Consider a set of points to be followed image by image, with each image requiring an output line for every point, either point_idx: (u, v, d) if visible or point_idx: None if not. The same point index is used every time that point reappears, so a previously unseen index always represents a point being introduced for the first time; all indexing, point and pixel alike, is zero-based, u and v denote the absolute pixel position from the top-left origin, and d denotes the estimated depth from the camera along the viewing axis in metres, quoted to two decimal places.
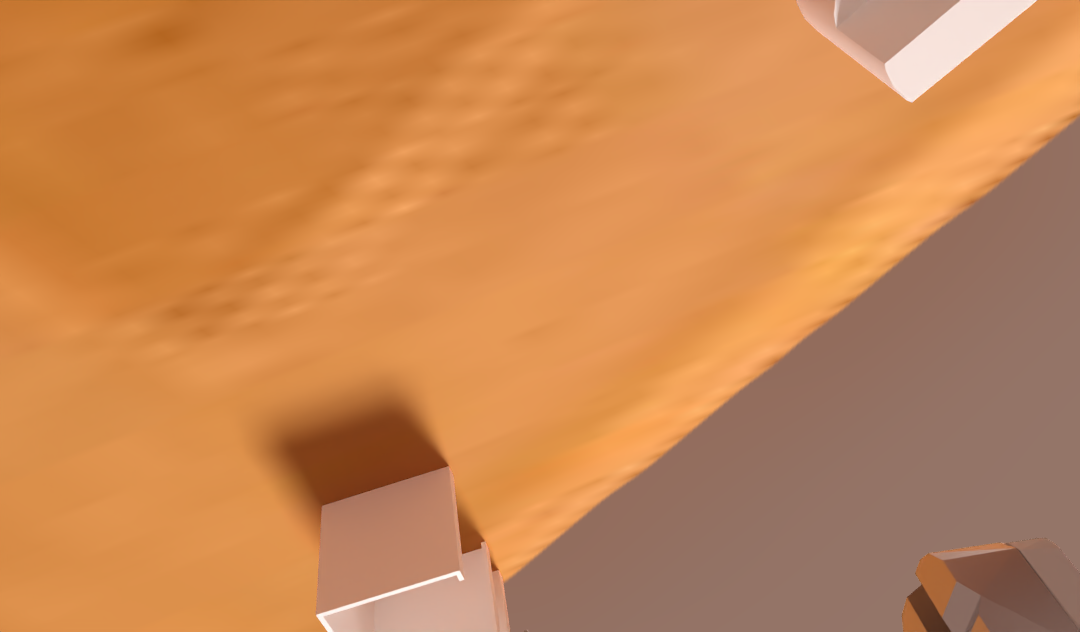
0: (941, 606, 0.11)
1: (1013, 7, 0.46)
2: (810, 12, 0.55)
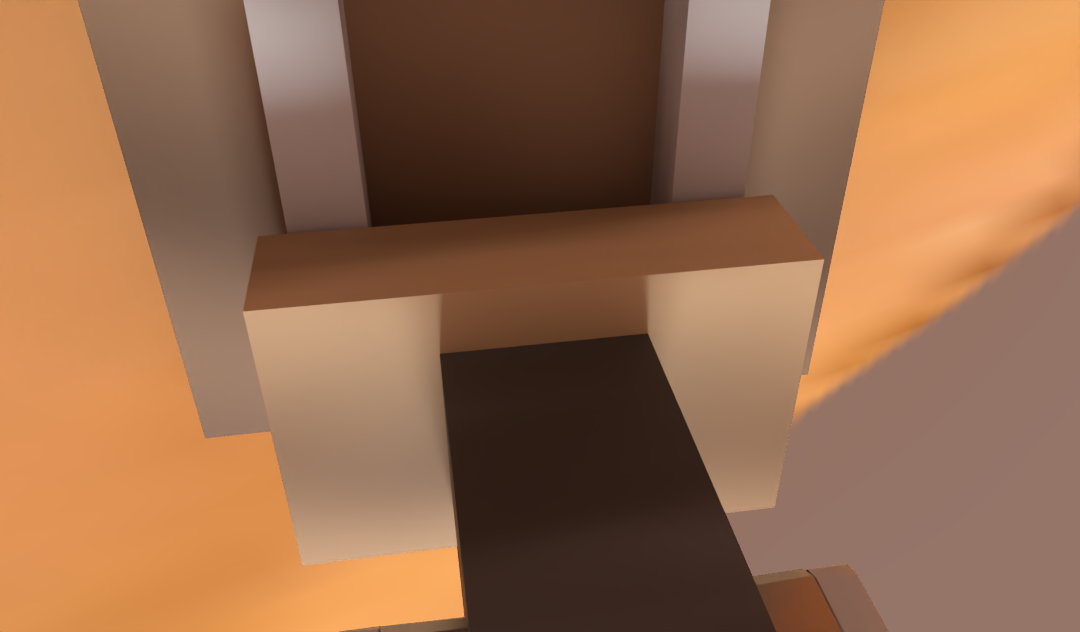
0: None
1: None
2: None
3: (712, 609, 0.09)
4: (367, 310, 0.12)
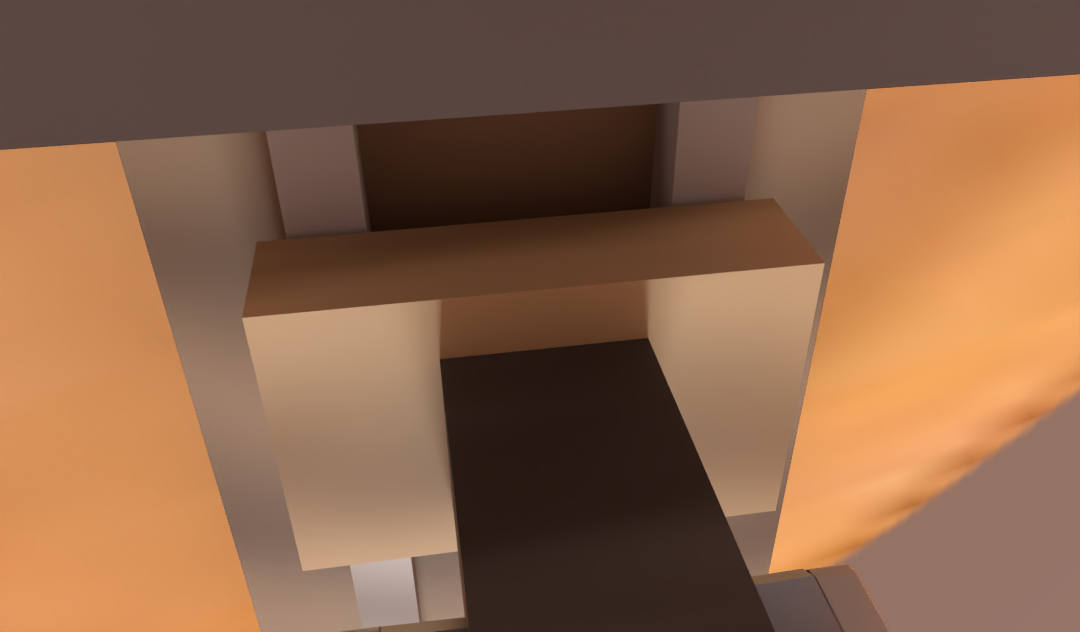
0: None
1: None
2: None
3: (714, 617, 0.09)
4: (367, 316, 0.12)
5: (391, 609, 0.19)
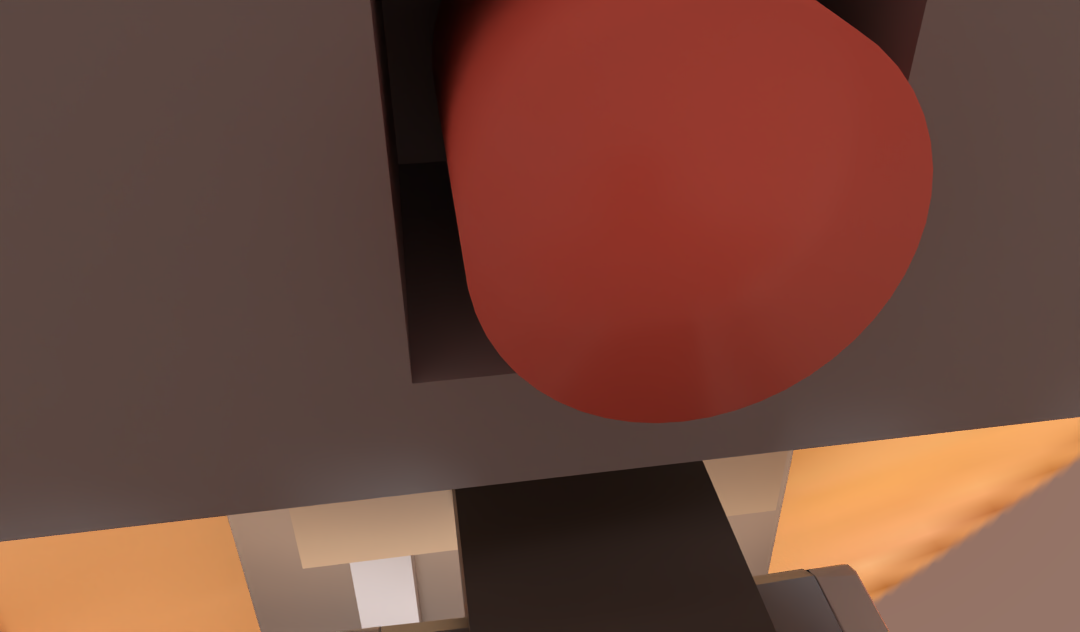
0: None
1: None
2: None
3: (714, 615, 0.09)
4: None
5: None
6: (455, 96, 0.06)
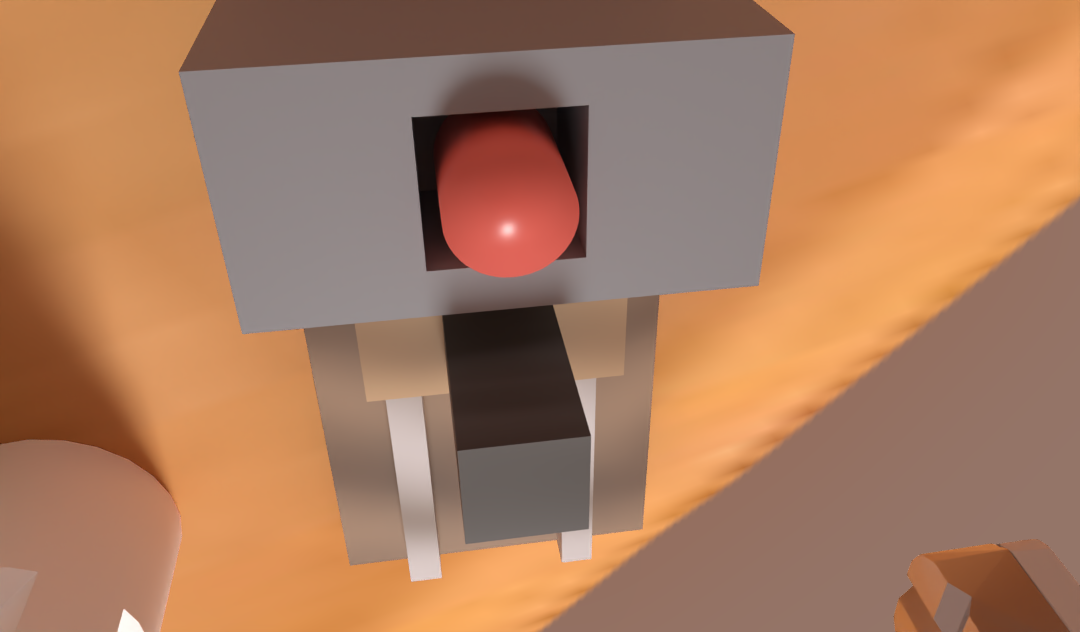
0: (933, 607, 0.11)
1: None
2: None
3: (551, 377, 0.22)
4: None
5: (420, 517, 0.34)
6: (440, 174, 0.19)
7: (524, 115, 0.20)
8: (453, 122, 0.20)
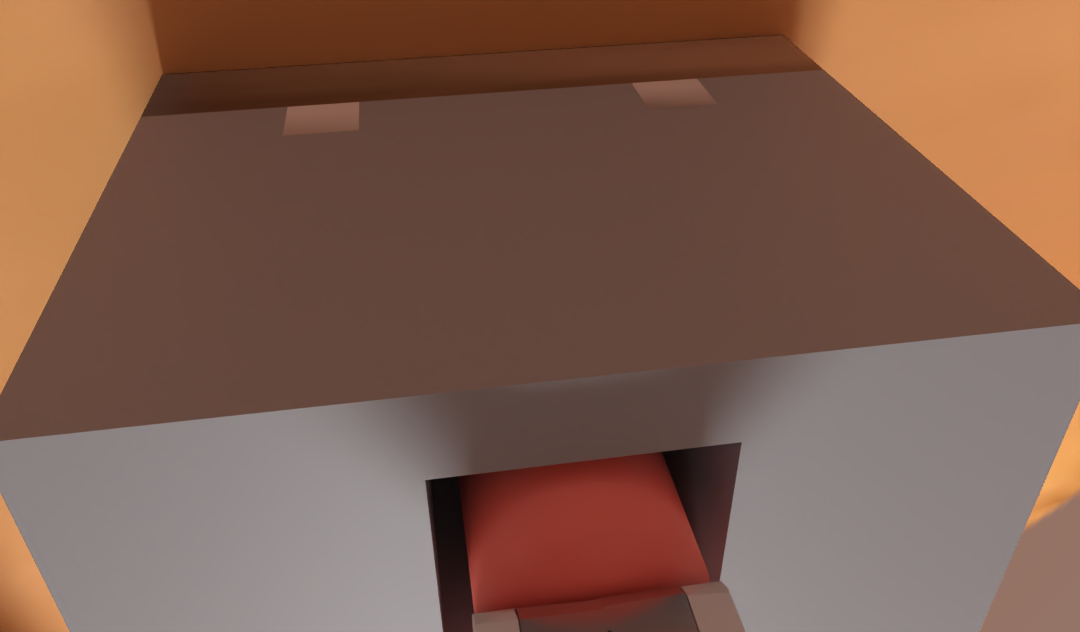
0: None
1: None
2: None
3: None
4: None
5: None
6: (469, 511, 0.11)
7: None
8: None
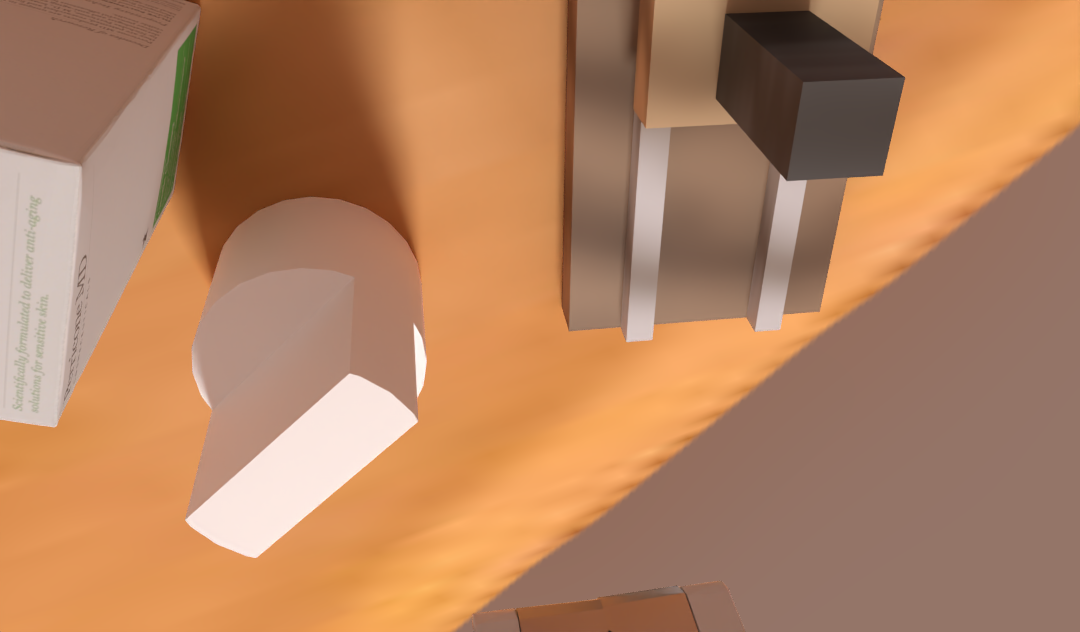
0: None
1: (364, 447, 0.31)
2: None
3: (852, 53, 0.27)
4: None
5: (646, 273, 0.39)
6: None
7: None
8: None
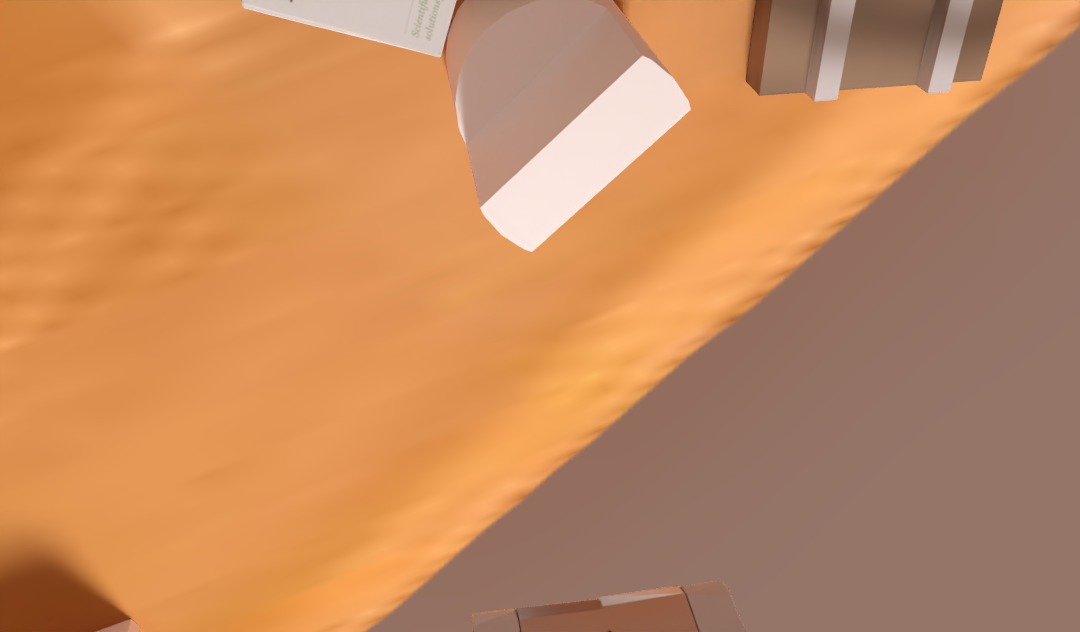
0: None
1: (641, 135, 0.35)
2: None
3: None
4: None
5: (839, 30, 0.43)
6: None
7: None
8: None
